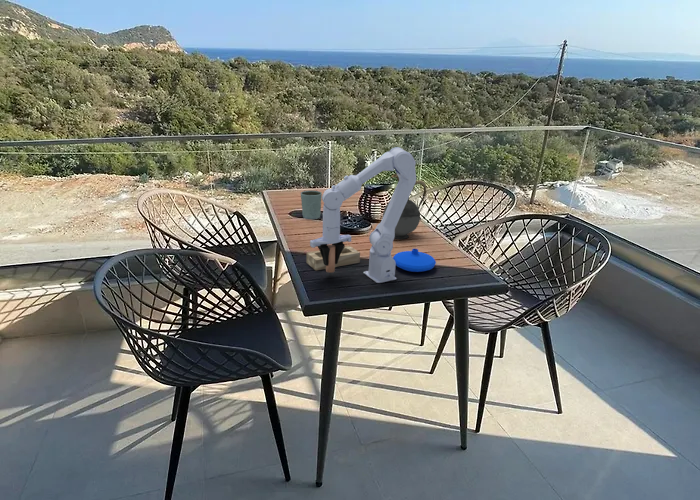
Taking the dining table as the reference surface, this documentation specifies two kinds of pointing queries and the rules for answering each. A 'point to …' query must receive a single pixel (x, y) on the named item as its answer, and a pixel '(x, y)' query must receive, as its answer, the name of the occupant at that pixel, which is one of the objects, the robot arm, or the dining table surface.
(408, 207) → the pitcher
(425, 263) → the blue round knobbed lid
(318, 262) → the hole block
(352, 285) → the dining table surface
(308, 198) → the green cup
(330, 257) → the peg
